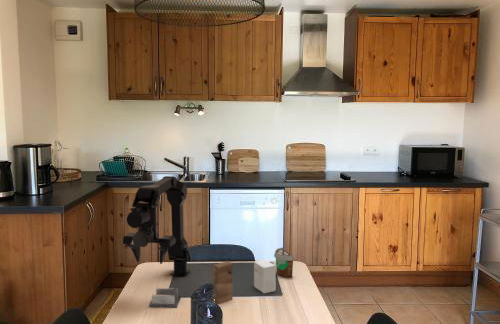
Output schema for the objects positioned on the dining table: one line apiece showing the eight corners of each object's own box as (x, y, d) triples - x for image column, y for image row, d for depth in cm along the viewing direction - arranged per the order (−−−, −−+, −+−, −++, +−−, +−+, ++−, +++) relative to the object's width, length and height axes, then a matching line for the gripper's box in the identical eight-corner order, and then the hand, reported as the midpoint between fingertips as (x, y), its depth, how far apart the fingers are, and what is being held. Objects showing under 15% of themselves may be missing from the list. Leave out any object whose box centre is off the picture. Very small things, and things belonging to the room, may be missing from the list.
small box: (275, 291, 162) (276, 265, 161) (263, 294, 159) (263, 267, 158) (265, 284, 169) (265, 259, 168) (253, 286, 166) (253, 261, 165)
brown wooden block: (213, 301, 153) (213, 264, 151) (227, 296, 157) (227, 261, 155) (219, 305, 150) (219, 267, 148) (234, 300, 154) (234, 264, 152)
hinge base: (154, 297, 156) (154, 287, 155) (181, 297, 155) (180, 287, 155) (149, 307, 148) (148, 296, 147) (176, 307, 147) (176, 296, 147)
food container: (269, 269, 185) (270, 248, 183) (282, 268, 186) (282, 247, 185) (280, 280, 173) (280, 257, 172) (293, 278, 175) (293, 255, 174)
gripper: (113, 225, 144) (114, 268, 145) (162, 228, 140) (163, 272, 141) (129, 217, 155) (130, 257, 156) (175, 220, 150) (176, 261, 152)
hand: (149, 262), depth 151 cm, fingers open, 9 cm apart
